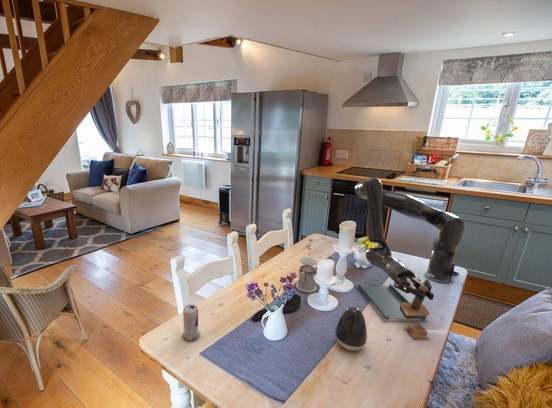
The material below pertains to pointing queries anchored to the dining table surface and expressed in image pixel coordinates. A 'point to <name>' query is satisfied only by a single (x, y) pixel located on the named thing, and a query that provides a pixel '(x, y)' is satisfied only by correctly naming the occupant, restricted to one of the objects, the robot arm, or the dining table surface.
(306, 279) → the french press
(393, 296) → the tray
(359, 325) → the black egg shaped diffuser
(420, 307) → the wooden dowel stand
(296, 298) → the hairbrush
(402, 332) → the dining table surface
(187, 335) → the energy drink
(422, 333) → the cork chunk
